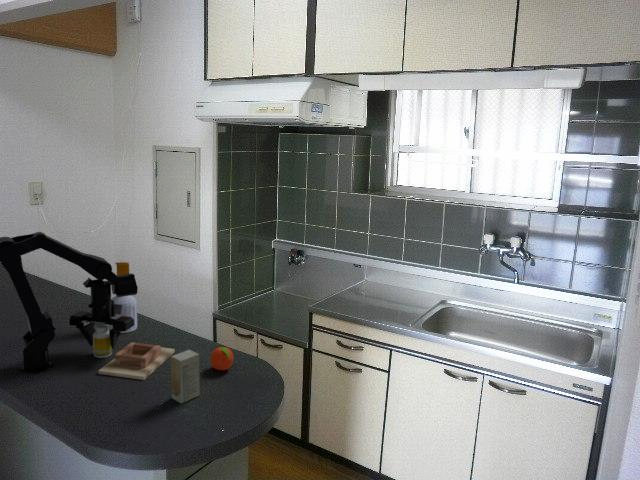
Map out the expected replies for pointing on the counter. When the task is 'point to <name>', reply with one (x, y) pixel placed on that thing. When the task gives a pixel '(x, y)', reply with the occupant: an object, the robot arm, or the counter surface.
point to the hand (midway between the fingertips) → (102, 347)
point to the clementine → (221, 358)
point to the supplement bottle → (101, 341)
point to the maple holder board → (137, 361)
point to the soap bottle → (125, 300)
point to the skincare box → (185, 376)
